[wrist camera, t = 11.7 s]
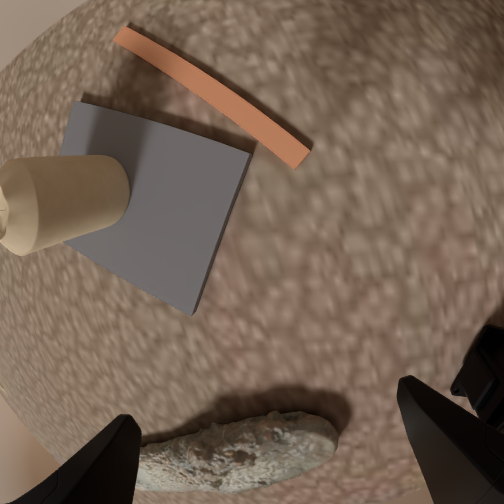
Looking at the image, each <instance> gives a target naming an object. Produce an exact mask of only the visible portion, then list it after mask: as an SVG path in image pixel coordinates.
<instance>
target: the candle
mask: <svg viewBox="0 0 504 504" xmlns="http://www.w3.org/2000/svg"><path fill="white" fill-rule="evenodd" d="M129 198H130V184H129V179H128V176H127V174H126V171H125V169H124V168H123V166H122V165H121V164H120V163H119V162H118V161H117V160H116V159H114V158H112V157H109V156H106V155H69V156H46V157H30V158H17V159H11V160H9V161H7V162H6V163H5V164H4V165H3V167H2V168H1V169H0V242H1V243H2V244H3V245H4V246H5V247H6V248H7V249H9V250H10V251H11V252H13V253H14V254H16V255H19V256H23V255H27V254H29V253H32V252H35V251H38V250H40V249H43V248H46V247H49V246H52V245H55V244H58V243H60V242H63V241H66V240H69V239H72V238H75V237H78V236H81V235H84V234H87V233H90V232H94V231H97V230H100V229H103V228H106V227H109V226H111V225H113V224H115V223H116V222H118V221H119V220H120V219H121V218H122V216H123V215H124V213H125V211H126V209H127V207H128V203H129Z"/></svg>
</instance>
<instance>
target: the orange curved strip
mask: <svg viewBox="0 0 504 504" xmlns="http://www.w3.org/2000/svg"><path fill="white" fill-rule="evenodd" d="M113 41H115V42H116V43H118V44H120V45H121V46H123V47H125V48H126V49H128V50H130V51H131V52H133V53H135V54H136V55H138V56H140V57H141V58H143V59H144V60H146V61H148V62H149V63H151V64H152V65H154V66H155V67H157V68H159V69H160V70H162V71H163V72H165V73H166V74H168V75H169V76H171V77H172V78H174V79H175V80H177V81H178V82H180V83H181V84H183V85H184V86H185V87H187V88H188V89H190V90H191V91H193V92H194V93H196V94H197V95H198V96H200V97H201V98H203V99H204V100H205V101H207V102H208V103H210V104H211V105H212V106H214V107H215V108H217V109H218V110H219V111H221V112H222V113H223V114H225V115H226V116H227V117H229V118H230V119H231V120H233V121H234V122H235V123H237V124H238V125H239V126H241V127H242V128H243V129H244V130H246V131H247V132H248V133H250V134H251V135H252V136H253V137H255V138H256V139H257V140H259V141H260V142H261V143H262V144H264V145H265V146H266V147H267V148H269V149H270V150H271V151H272V152H274V153H275V154H276V155H277V156H278V157H280V158H281V159H282V160H283V161H284V162H286V163H287V164H288V165H289V166H290V167H292V168H293V169H294V170H295V169H296V168H297V167H298V166H299V165H300V163H301V162H302V161H303V160H304V159H305V158H306V156H307V155H308V154H309V153H310V152H311V151H310V150H309V149H307V148H306V147H305V146H304V145H303V144H301V143H300V142H299V141H298V140H297V139H295V138H294V137H293V136H292V135H290V134H289V133H288V132H287V131H285V130H284V129H283V128H281V127H280V126H279V125H278V124H276V123H275V122H274V121H272V120H271V119H270V118H268V117H267V116H266V115H265V114H263V113H262V112H260V111H259V110H258V109H256V108H255V107H254V106H252V105H251V104H250V103H248V102H247V101H245V100H244V99H243V98H241V97H240V96H238V95H237V94H236V93H234V92H233V91H231V90H230V89H228V88H227V87H226V86H224V85H223V84H221V83H220V82H218V81H217V80H215V79H214V78H212V77H211V76H209V75H208V74H206V73H205V72H203V71H201V70H200V69H198V68H197V67H195V66H194V65H192V64H190V63H189V62H187V61H186V60H184V59H182V58H181V57H179V56H177V55H176V54H174V53H172V52H171V51H169V50H167V49H166V48H164V47H162V46H160V45H159V44H157V43H155V42H153V41H152V40H150V39H148V38H146V37H144V36H142V35H141V34H139V33H137V32H135V31H133V30H131V29H129V28H127V27H125V26H123V27H122V29H121V30H120V31H119V33H118V34H117V35H116V37H115V38H114V40H113Z"/></svg>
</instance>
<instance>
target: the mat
mask: <svg viewBox="0 0 504 504" xmlns="http://www.w3.org/2000/svg"><path fill="white" fill-rule="evenodd" d="M69 155H106V156H109V157H112V158H114V159H116V160H117V161H118V162H119V163H120V164H121V165H122V166H123V168H124V169H125V171H126V174H127V176H128V179H129V184H130V198H129V203H128V207H127V209H126V211H125V213H124V215H123V216H122V218H121V219H120V220H119V221H118V222H116V223H115V224H113V225H111V226H109V227H106V228H103V229H100V230H97V231H94V232H90V233H87V234H84V235H81V236H78V237H75V238H72V239H69V240H66V241H63V242H64V243H66V244H67V245H69V246H70V247H72V248H73V249H75V250H77V251H78V252H80V253H81V254H83V255H84V256H86V257H88V258H89V259H91V260H92V261H94V262H96V263H97V264H99V265H101V266H102V267H104V268H106V269H107V270H109V271H111V272H112V273H114V274H116V275H117V276H119V277H121V278H122V279H124V280H126V281H128V282H129V283H131V284H133V285H135V286H136V287H138V288H140V289H142V290H143V291H145V292H147V293H149V294H151V295H152V296H154V297H156V298H158V299H160V300H162V301H163V302H165V303H167V304H169V305H171V306H173V307H175V308H176V309H178V310H180V311H182V312H184V313H186V314H188V315H190V316H192V315H193V314H194V313H195V312H196V310H197V307H198V304H199V301H200V298H201V295H202V292H203V289H204V286H205V283H206V280H207V278H208V275H209V272H210V269H211V266H212V263H213V261H214V258H215V255H216V252H217V249H218V246H219V244H220V241H221V238H222V235H223V233H224V230H225V227H226V224H227V222H228V219H229V216H230V214H231V211H232V208H233V205H234V203H235V200H236V197H237V195H238V192H239V189H240V187H241V184H242V181H243V179H244V176H245V174H246V171H247V168H248V166H249V163H250V161H251V158H252V155H253V154H251V153H248V152H245V151H243V150H240V149H237V148H234V147H232V146H229V145H226V144H223V143H221V142H218V141H215V140H212V139H209V138H206V137H203V136H200V135H197V134H194V133H191V132H188V131H185V130H182V129H179V128H175V127H172V126H169V125H166V124H162V123H159V122H156V121H152V120H149V119H145V118H142V117H138V116H135V115H131V114H128V113H124V112H120V111H116V110H112V109H108V108H104V107H100V106H96V105H92V104H88V103H83V102H79V101H74V103H73V106H72V109H71V113H70V116H69V120H68V123H67V127H66V131H65V135H64V139H63V143H62V147H61V151H60V156H69Z"/></svg>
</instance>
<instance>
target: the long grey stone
mask: <svg viewBox="0 0 504 504" xmlns="http://www.w3.org/2000/svg"><path fill="white" fill-rule="evenodd" d="M338 440H339V435H338V434H337V432H336V430H335V428H334V427H333V425H332V424H331V423H330V422H329V421H328V420H326V419H323V418H322V417H320V416H315V415H311V414H307V413H305V412H302V411H298V412H290V413H283V414H280V413H279V412H278V411H273V412H270V413H269V414H268V415H267V416H258V417H249V418H246V419H244V420H240V421H239V422H231V423H230V424H225V425H223V424H217V423H214V422H212V424H211V426H210V427H209V428H206V429H202V428H201V429H200V430H199V432H198V433H193V434H188V435H185V436H179V437H176V438H174V439H173V440H168V441H167V442H163V443H152V444H151V443H149V444H148V445H147V446H145V447H140V458H139V469H138V475H137V480H136V485H135V489H137V490H140V491H158V492H168V493H169V492H177V493H179V492H196V491H197V492H198V491H199V492H200V491H202V492H219V493H227V494H228V493H229V494H231V495H235V494H239V493H242V492H247V491H249V490H250V489H255V488H259V487H263V488H266V487H268V486H270V485H272V484H275V483H277V482H281V481H284V480H287V479H292V478H295V477H298V476H300V475H301V474H302V473H305V472H307V471H310V470H312V469H314V468H316V467H318V466H319V465H321V464H323V463H325V462H326V461H328V460H329V459H331V457H332V456H333V455H334V453H335V451H336V450H337V447H338Z"/></svg>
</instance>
